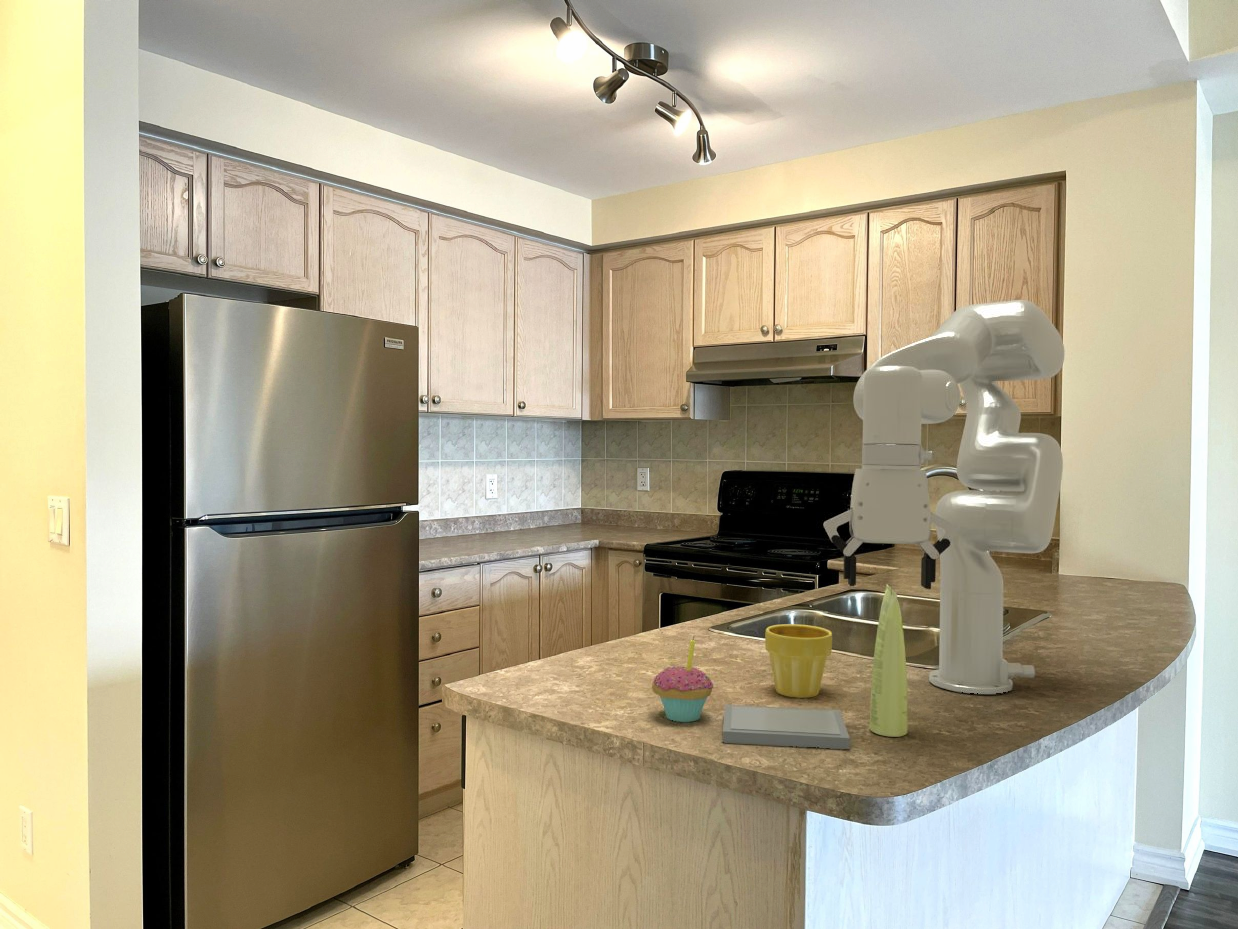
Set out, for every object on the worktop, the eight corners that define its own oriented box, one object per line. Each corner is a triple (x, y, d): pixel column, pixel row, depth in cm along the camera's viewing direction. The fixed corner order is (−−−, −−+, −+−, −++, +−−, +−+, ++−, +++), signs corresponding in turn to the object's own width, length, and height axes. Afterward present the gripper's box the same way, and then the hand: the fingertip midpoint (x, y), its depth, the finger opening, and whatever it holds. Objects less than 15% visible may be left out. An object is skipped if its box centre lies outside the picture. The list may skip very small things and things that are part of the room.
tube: (919, 735, 117) (921, 589, 116) (894, 741, 114) (896, 592, 114) (885, 723, 121) (887, 583, 121) (860, 730, 119) (862, 586, 118)
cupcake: (724, 716, 124) (724, 632, 124) (688, 731, 118) (688, 642, 118) (676, 704, 130) (677, 624, 130) (639, 717, 124) (640, 633, 123)
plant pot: (845, 696, 135) (846, 633, 135) (794, 705, 130) (795, 639, 130) (800, 680, 144) (801, 621, 144) (751, 688, 139) (751, 627, 139)
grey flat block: (839, 720, 123) (839, 709, 123) (849, 749, 111) (849, 737, 111) (725, 715, 125) (725, 704, 125) (722, 742, 113) (722, 730, 113)
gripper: (952, 460, 119) (949, 585, 119) (822, 457, 122) (820, 580, 122) (965, 459, 112) (962, 593, 112) (827, 457, 115) (825, 587, 115)
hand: (888, 586), depth 117 cm, fingers open, 9 cm apart
